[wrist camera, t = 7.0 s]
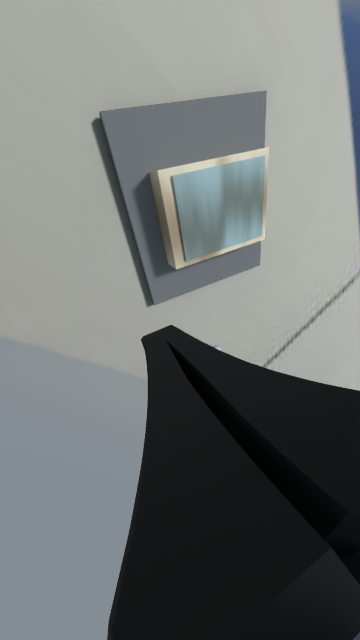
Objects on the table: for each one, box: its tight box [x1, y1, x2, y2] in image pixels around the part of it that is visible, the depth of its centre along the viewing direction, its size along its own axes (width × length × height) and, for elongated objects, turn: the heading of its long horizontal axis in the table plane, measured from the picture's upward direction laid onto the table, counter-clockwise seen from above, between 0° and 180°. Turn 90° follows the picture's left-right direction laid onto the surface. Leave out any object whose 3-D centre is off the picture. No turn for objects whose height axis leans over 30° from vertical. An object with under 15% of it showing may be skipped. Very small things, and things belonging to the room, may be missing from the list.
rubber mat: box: [99, 91, 267, 305], centre depth 16 cm, size 12×11×1 cm
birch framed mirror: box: [149, 147, 269, 270], centre depth 16 cm, size 6×2×8 cm
